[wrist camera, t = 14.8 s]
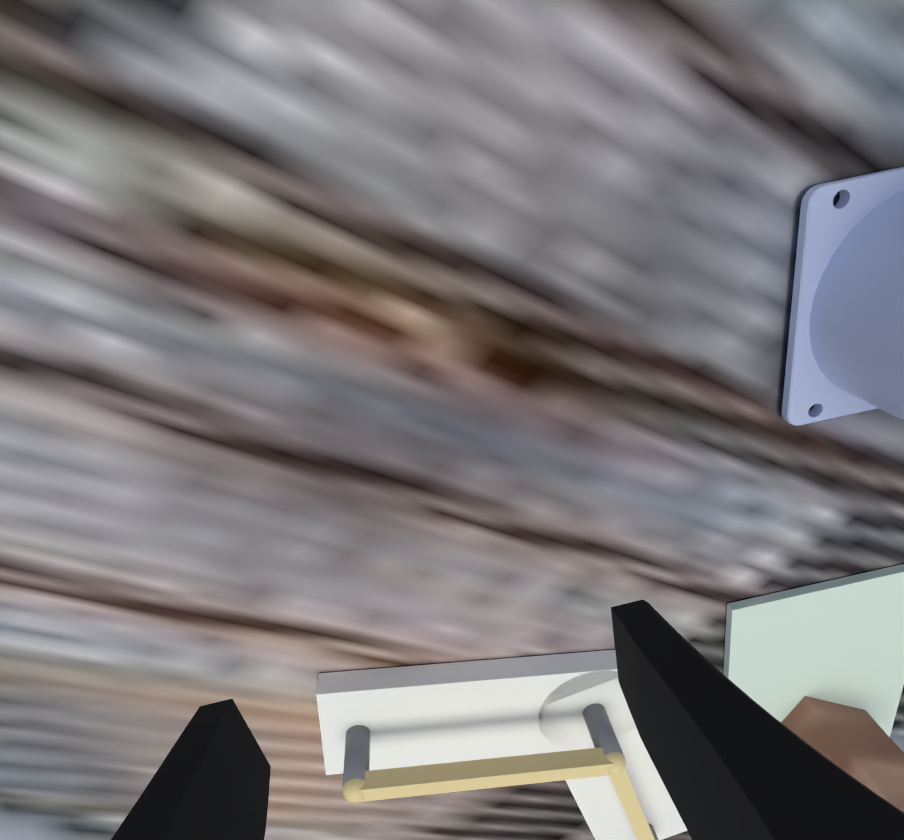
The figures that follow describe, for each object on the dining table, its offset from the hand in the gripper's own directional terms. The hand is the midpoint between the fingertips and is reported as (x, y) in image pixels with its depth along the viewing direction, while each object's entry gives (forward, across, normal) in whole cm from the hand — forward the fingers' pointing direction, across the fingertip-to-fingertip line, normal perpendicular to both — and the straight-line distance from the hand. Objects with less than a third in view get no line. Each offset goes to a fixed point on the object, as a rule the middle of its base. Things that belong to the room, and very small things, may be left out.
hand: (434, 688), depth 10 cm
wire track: (+9, -1, +18) cm, 20 cm away
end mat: (+9, -16, +20) cm, 27 cm away
